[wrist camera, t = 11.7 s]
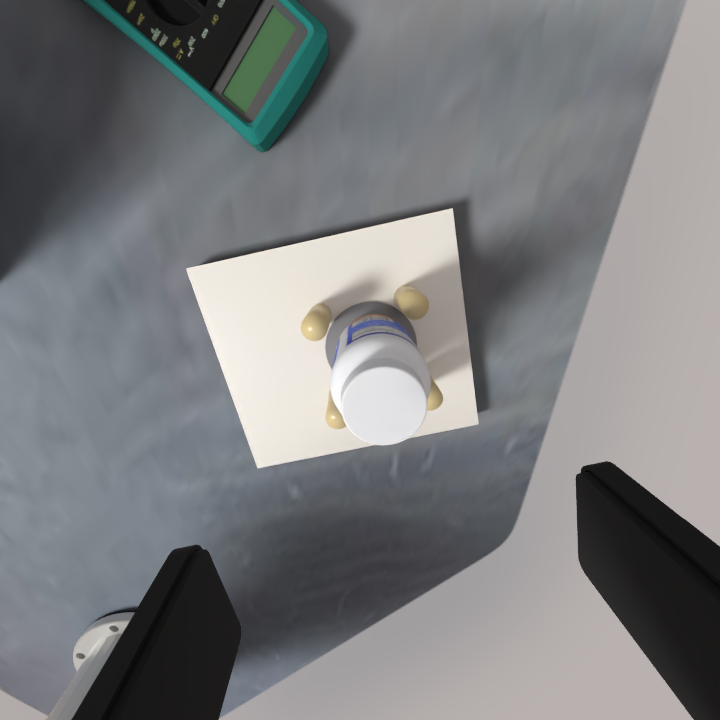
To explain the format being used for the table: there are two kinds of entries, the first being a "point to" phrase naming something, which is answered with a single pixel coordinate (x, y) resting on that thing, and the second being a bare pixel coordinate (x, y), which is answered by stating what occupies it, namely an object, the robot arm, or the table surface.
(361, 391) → the pill bottle
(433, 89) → the table surface
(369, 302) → the plate
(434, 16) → the table surface
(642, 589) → the robot arm
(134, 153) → the table surface
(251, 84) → the digital multimeter
